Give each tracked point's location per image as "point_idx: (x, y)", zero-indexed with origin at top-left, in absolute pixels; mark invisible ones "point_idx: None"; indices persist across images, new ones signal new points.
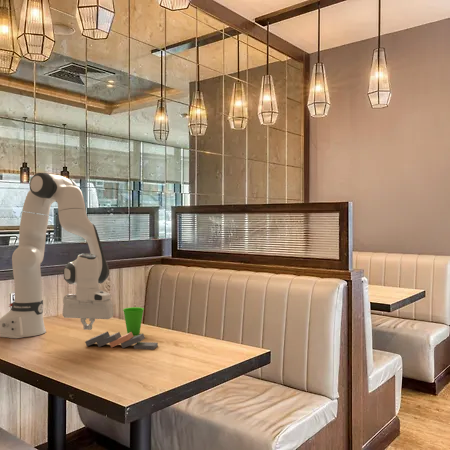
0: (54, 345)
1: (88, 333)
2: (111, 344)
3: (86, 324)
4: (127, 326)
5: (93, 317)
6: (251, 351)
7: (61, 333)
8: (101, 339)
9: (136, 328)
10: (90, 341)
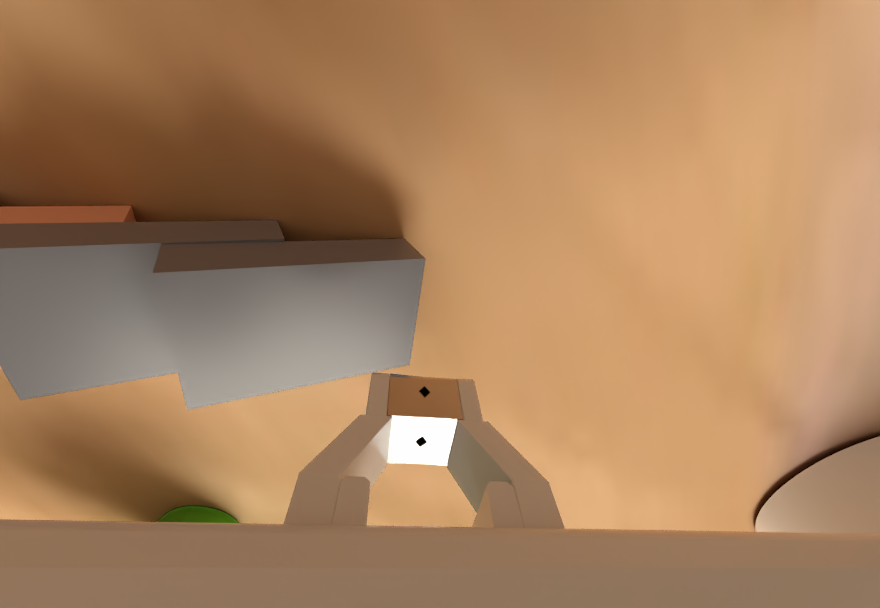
0: (704, 261)
1: None
2: (105, 216)
3: (450, 459)
4: None
5: (206, 551)
6: None
7: (663, 506)
8: (208, 248)
9: None
10: (360, 252)
